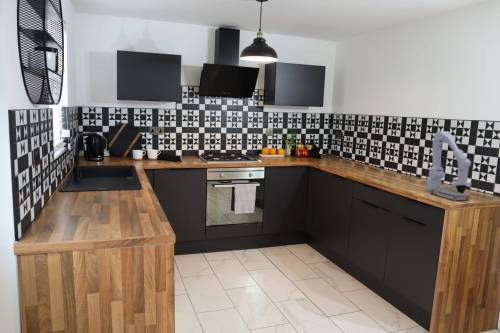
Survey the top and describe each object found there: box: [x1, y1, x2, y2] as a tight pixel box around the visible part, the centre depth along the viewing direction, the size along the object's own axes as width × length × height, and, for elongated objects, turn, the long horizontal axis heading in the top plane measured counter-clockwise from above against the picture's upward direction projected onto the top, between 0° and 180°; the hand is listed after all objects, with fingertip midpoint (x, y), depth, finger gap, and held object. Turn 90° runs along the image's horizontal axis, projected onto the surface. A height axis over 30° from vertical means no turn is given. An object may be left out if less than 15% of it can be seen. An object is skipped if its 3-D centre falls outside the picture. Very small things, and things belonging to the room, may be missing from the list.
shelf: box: [429, 187, 471, 203], centre depth 265 cm, size 12×22×4 cm, turn 17°
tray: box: [436, 192, 466, 201], centre depth 266 cm, size 12×15×2 cm
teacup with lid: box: [450, 176, 458, 192], centre depth 290 cm, size 12×9×12 cm
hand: (460, 196), depth 268 cm, fingers closed
